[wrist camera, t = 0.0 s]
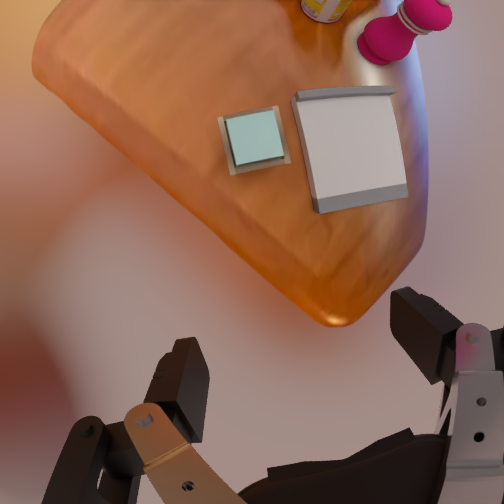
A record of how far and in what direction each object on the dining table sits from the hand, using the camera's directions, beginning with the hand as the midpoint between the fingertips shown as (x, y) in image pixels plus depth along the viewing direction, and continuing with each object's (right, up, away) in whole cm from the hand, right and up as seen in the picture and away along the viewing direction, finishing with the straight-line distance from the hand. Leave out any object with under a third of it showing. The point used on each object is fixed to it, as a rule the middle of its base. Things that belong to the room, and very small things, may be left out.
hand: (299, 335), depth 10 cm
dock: (+12, +18, +26) cm, 34 cm away
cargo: (-2, +13, +14) cm, 20 cm away
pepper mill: (+17, +35, +21) cm, 44 cm away
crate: (-2, +17, +25) cm, 31 cm away
